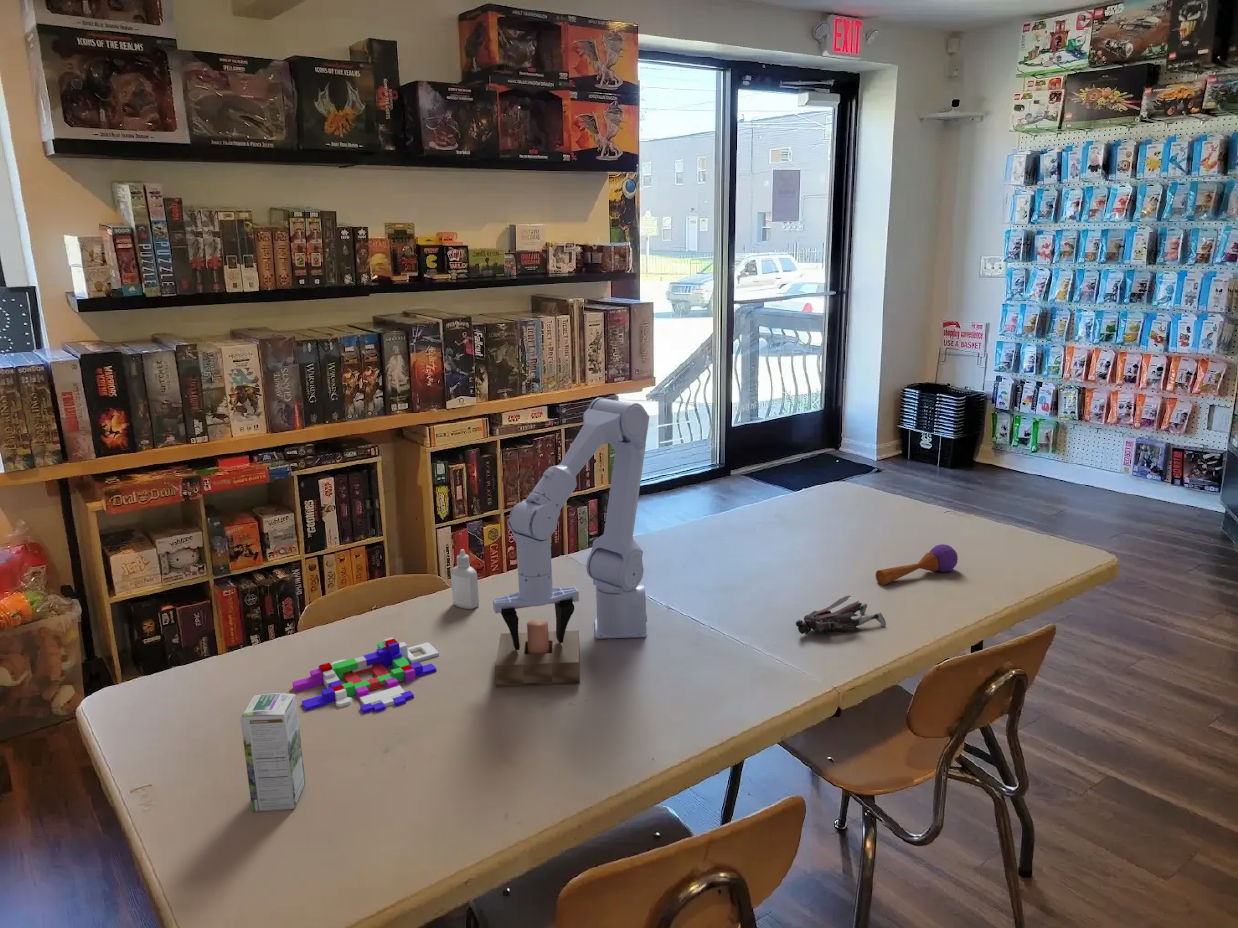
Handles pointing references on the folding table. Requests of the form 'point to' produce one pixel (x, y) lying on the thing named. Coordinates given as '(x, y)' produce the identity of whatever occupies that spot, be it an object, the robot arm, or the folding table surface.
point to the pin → (538, 636)
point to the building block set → (376, 662)
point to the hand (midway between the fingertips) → (538, 643)
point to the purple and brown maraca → (922, 564)
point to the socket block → (538, 662)
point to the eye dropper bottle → (464, 583)
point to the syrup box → (273, 752)
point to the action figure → (838, 618)
